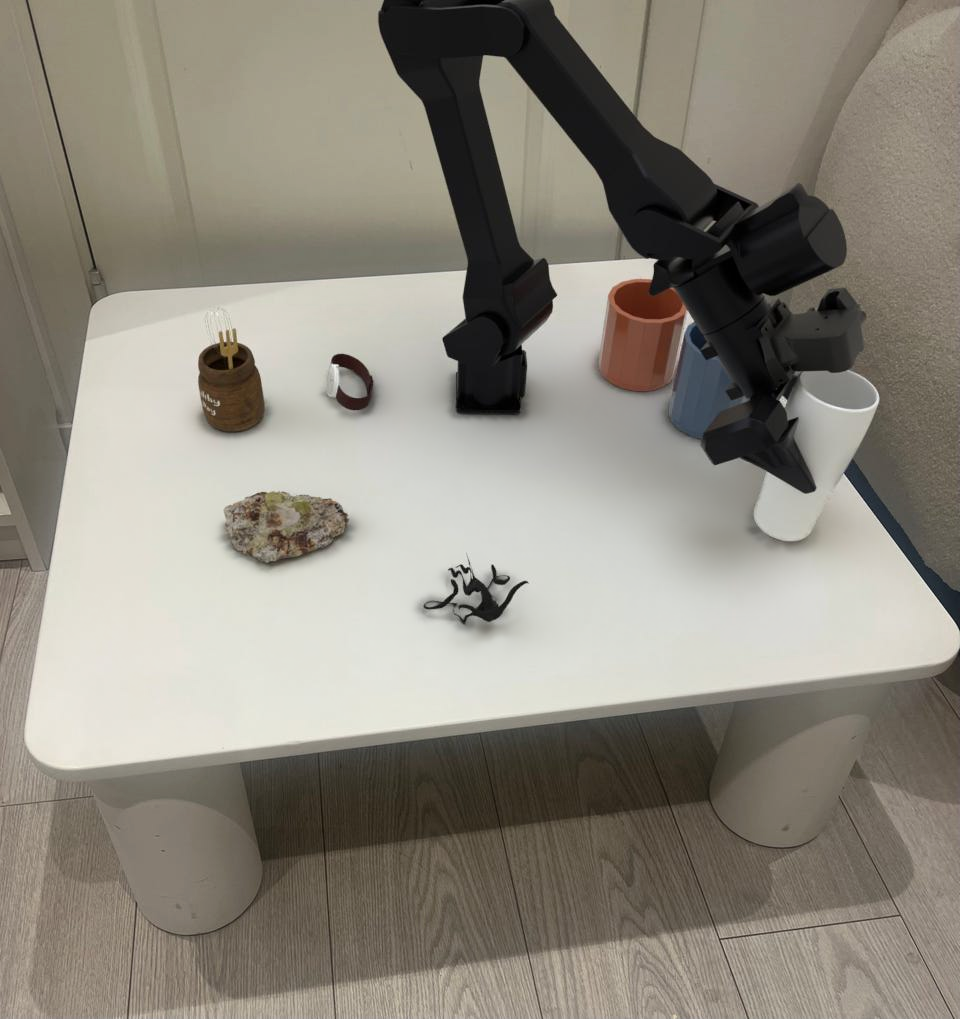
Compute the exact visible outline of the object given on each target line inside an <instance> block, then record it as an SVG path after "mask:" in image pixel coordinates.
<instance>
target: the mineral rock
mask: <svg viewBox="0 0 960 1019" xmlns="http://www.w3.org/2000/svg"><path fill="white" fill-rule="evenodd" d="M223 514H224V517H225V519H226V521H225V524H224V525H225V532H227V535H228V538H229V539H230V541H231V545H232V547H233V548H234V549H236V550H237V551H238V552H240V551H242V552H243V554H245V555H247V556H248V555H249V556H251V557H254V558H255V559H257V560H259V561H261V562H262V563H267V564H270V562H276V561H278V560H282V559H285V558H286V559H287V558H290V559H291V558H296V557H299V556H302V555H303V554H308V553H310V552H313V551H315V550H318V549H319V548H322V549H323V548H326V547H328V546H329V545H330V544H332V543H333V540H334V537H336V536H339V535H342V534H344V531H345V528H346V527H347V524H348V523H349V520H350V518H348V517H349V514H348V512H345V511H344V508H343V506H342V505H341V503H339V502H338V501H336V500H333V499H332V498H331V497H330V498H322V497H320V496H311V495H309V494H296V495H295V496H294V495H291V494H290V493H289V492H286V491H280V490H278V491H274V490H273V491H269V492H267V491H261V492H256V493H255V494H253V495H250V496H246V497H245V498H244V499H243V500H239V501H237V502H234V503H233V504H232V505H231V504H229V505H227V506H224V508H223Z"/></svg>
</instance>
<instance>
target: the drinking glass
mask: <svg viewBox="0 0 960 1019" xmlns="http://www.w3.org/2000/svg"><path fill="white" fill-rule="evenodd" d="M879 404H880V394H879V392H878V390H877V388H876V386H874V385H873V383H871V382H870V381H869V380H868V379H867V378H865V377H864V376H863V375H860V374H858V373H857V372H855V371H853V370H850V369H849V370H847V371H844V372H840V373H830V372H829V371H802V372H800V373H799V375H798V377H797V379H796V382H795V384H794V386H793V388H792V390H791V393H790V395H789V398H788V400H786V403H785V406H784V408H785V410H786V412H787V419H788V420H791V419H794V418H797V417H798V418H799V421H798V424H797V427H796V431H795V434H794V440H795V442H796V444H797V446H798V448H799V450H800V452H801V454H802V456H803V458H804V460H805V462H806V464H807V466H808V468H809V470H810V472H811V475H812V477H813V480H814V482H815V485H816V487H817V488H816V490H815V492H812V493H808V494H804V493H802V492H801V491H799V490H797V489H796V488H794V487H792V486H791V485H789V484H787V483H785V482H784V481H782V480H780V479H779V478H777V477H775V476H774V475H772V474H770V473H768V472H767V471H765V475H764V478H763V482H762V485H761V489H760V492H759V495H758V497H757V500H756V503H755V506H754V509H753V519H754V521H755V523H756V526H758V528H759V529H760V530H761V531H762V532H763V533H765V534H766V535H768V536H769V537H771V538H774V539H776V540H780V541H782V542H783V541H784V542H798V541H801V540H804V539H806V538H807V537H808V536H809V535H811V533H812V532H813V530H814V527H815V525H816V523H817V521H818V519H819V517H820V515H821V513H822V512H823V510H824V508H825V506H826V504H827V503H828V501H829V500H830V497H831V496H832V494H833V493H834V490H835V489H836V488H837V485H838V484H839V482H840V481H841V479H842V477H843V475H844V474H845V472H846V470H847V469H848V467H849V465H850V463H851V462H852V460H853V458H854V457H855V455H856V454H857V451H858V450H859V448H860V446H861V444H862V442H863V440H864V439H865V436H866V434H867V433H868V430H869V428H870V426H871V423H872V421H873V419H874V416H875V413H876V411H877V408H878V406H879Z"/></svg>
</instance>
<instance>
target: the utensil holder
mask: <svg viewBox="0 0 960 1019" xmlns="http://www.w3.org/2000/svg"><path fill="white" fill-rule="evenodd" d="M215 311H216V315H217V318H218V321H219V327H220V330H219V329H218V324H217V323H215V325H216V330H217V335H218V338H219V342H216V341H215V340H216V339H215V338H214V336H213V335H214V333H213V331H211V330H213V327H212V326H210V325H207V324H209V323H210V324H212V317H210V320H209V321H208V319H207V317H208V314H209V313H210V312H211V313H210V316H212V315H213V316H214V317H216V315H215V313H214V312H215ZM218 311H220V312H221V313H222V315H223V319H224V320H226V321H227V322H226V321H224V323H225V325H228V327H227V326H225V328H226V330H225V339H226V341H225V339H224V333H223V329H222V325H221V320H220V317H219V314H218ZM224 312H225V313H226V314H227V315H228V317H227V315H226V314H225V313H224ZM228 319H229V320H228ZM214 321H215V322H217V320H216V318H214ZM204 323H205V325H207V326H205V329H206V334H207V337H208V340H209V342H210V343H211V344H210V345H209V346H207V347H206V348H204V349H203V350H202V351H201V352H200V354H199V356H198V359H197V363H198V364H197V368H198V371H199V373H198V378H197V385H198V392H199V396H200V397H199V398H200V402H201V405H202V406H201V407H202V411H203V414H204V418H205V419H206V421H207V423H208V424H209V425H210V426H212V428H215V429H216V430H219V431H223V432H241V431H244V430H248V429H250V428H252V427H254V426H255V425H257V424H258V423H259V422H260V421H261V420H262V419H263V417H264V414H265V398H264V396H265V395H264V391H263V385H262V384H263V383H262V378H261V375H260V374H261V373H260V371H259V369H258V367H257V366H256V359H255V356H254V354H253V352H252V350H251V349H250V348H249V347H248V346H247V345H245V344H243V343H241V342H238V335H237V329H236V328H235V327H234V328H233V327H232V326H233V325H230V324H232V321H231V318H230V315H229V313H228V312H227V310H225V309H224V308H220V307H212V308H209V310H208V311H207V312H206V315H205V319H204ZM229 323H230V324H229ZM207 327H208V328H207ZM210 328H211V330H210ZM230 330H231V331H230ZM208 331H209V333H208ZM211 333H212V334H211ZM209 335H210V337H211V339H210V337H209ZM231 337H232V338H231ZM213 343H214V344H213Z"/></svg>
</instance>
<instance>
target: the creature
mask: <svg viewBox="0 0 960 1019" xmlns="http://www.w3.org/2000/svg"><path fill="white" fill-rule="evenodd" d="M465 554H466V558H467V560H468V561H467V562H468V566H466V567H465V566H464V564H461V563H460V564H458V565H456V566H455V568H456V569H457V568H459V567H460V569H461V570H460V569H458V570H455V568H453V567H449V568H448V569H447V571H449V572H450V573H451V576H452V577H453V578H454V579H453V578H451V579H450V584H451V586H452V587H453V589H452V590H453V591H452V593H451V594H450V595H448V596H446V598H445V599H444V600H443V601H439V600H433V602H434V603H438V604H436V605H433V606H426V604H428V603H429V602H431V600H427V601H426V602H425V603H424V604H423V608H424V609H425V610H438V609H443V608H444V607H446V606H448V605H452V606H453V610H452V611H453V615H455V616H457V617H458V618H459V620H460V622H461V624H466V622H467V620H468V618H470V617H477V618H479V619H481V620H483V621H485V622H487V623H491V622H493V621H496V620H498V619H499V618H500V617H501V616H502V615H503V613H504V611H505V610H506V608H507V607H508V605H509V604H510V603H511V601H512V599H513V597H514V595H515V594H516V593H517V592H518V590H519V589H520V588H521V587H523V586H524V585H526V584H527V585H529V584H530V583H529V581H528V580H522V581H520V582H519V583H516V584H515V585H514V586H513V587H512V588H511V589H510V590H509V592H508V593H507V595H506V597H505V599H504V601H503V602H502V603H501V604H500V605H499V604H498V603H497V597H495V596H494V595H492V594H491V592H490V591H489V588H490V587H491V585H492V584H495V585H499V586H505V585H506V584H507V583H508V582H510V580H511V577H510V575H507V574H506V575H504V574H503V575H502V574H501V575H497V568H496V567H495V565H494V564H493V563H492V564H490V569H491V572H492V579H491V581H490V582H489V584H488V586H486V584H484V582H482V581H481V580H480V579H479V578H477V577H476V575H475V573H474V571H473V567H472V564H471V562H470V559H469V556H468V553H467V552H465ZM463 574H465V575H468V574H470V575H469V576H470V577H469V578H470V580H469V582H468V584H467V583H466V581H465V579H464V576H463ZM459 575H460V576H461V577H462V578H461V579H462V591H463V593H464V595H465V596H468V597H470V596H471V595H472V594H473V593H474V592H475V593H480V595H481V601H480V603H479V604H478V605H477V607H474V606H472V605H470V604H465V603H463V604H459V603H458V602H452V601H453V599H455V597H456V596H457V595H458V594H459V585H458V583H457V580H456V579H457V578H458V576H459ZM498 577H507V578H506V579H501V578H498ZM493 598H495V599H493ZM458 604H459V605H458ZM457 605H458V608H457V609H458V611H460V610H461V609H466V610H468V611H470V613H468V614H465V615H464V618H462V617H461V615H459V614H457V613H455V608H456V606H457Z"/></svg>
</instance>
